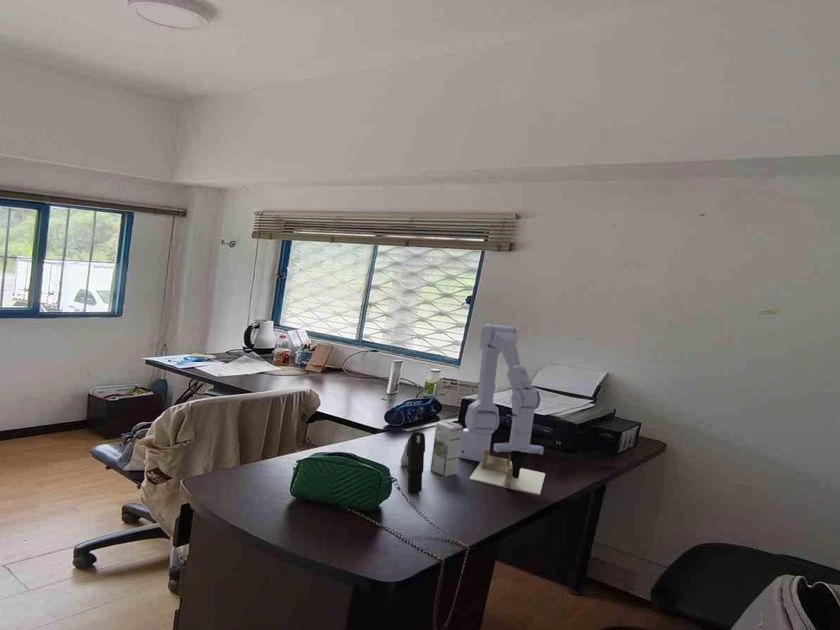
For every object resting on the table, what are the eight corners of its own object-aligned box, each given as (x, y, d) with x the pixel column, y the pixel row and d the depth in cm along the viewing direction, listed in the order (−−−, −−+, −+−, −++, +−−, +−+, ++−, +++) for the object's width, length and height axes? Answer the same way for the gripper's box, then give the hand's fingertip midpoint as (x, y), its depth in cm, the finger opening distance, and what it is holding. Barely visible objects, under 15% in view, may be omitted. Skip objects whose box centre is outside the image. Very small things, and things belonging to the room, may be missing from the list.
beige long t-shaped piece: (507, 473, 172) (509, 457, 172) (512, 474, 172) (514, 458, 172) (504, 486, 160) (507, 469, 160) (510, 487, 160) (512, 470, 160)
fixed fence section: (481, 468, 175) (483, 451, 175) (482, 466, 177) (484, 449, 176) (512, 475, 172) (515, 457, 172) (513, 473, 174) (516, 456, 174)
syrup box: (457, 474, 168) (463, 425, 167) (444, 477, 164) (450, 427, 163) (442, 467, 172) (448, 420, 171) (429, 471, 168) (435, 422, 167)
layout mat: (469, 479, 165) (469, 477, 165) (481, 461, 184) (482, 459, 184) (539, 495, 159) (540, 493, 159) (545, 474, 178) (545, 473, 178)
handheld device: (408, 489, 145) (411, 430, 152) (396, 501, 165) (400, 448, 172) (423, 490, 146) (426, 431, 152) (410, 502, 166) (413, 449, 172)
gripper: (502, 432, 158) (496, 481, 159) (550, 435, 161) (544, 483, 162) (493, 425, 165) (487, 472, 165) (539, 428, 168) (533, 474, 169)
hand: (514, 477), depth 164 cm, fingers closed, pressing on beige long t-shaped piece
